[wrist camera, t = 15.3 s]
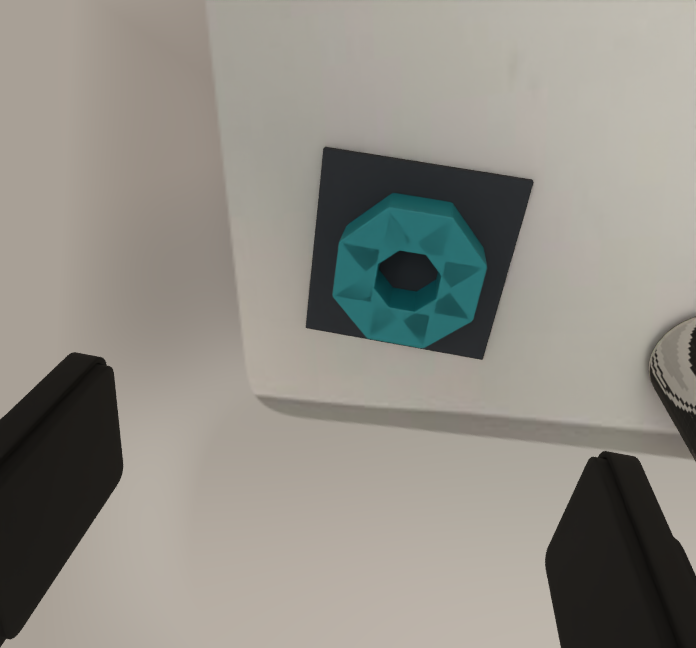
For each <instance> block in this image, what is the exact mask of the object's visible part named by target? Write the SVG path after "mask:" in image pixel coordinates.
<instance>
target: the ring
mask: <svg viewBox="0 0 696 648" xmlns="http://www.w3.org/2000/svg"><path fill="white" fill-rule="evenodd" d="M398 251H406V252H412V253H417V254H423V255H426V256H427V257H428V258H429V260H430V261H431V263H432V264H433V265H434V267H435V268H436V269H437V271H438V273H437V278H436V280H435V281H433V282H431V283H430V284H428V285H426V286H425V287H423V288H421V289H420V290H418V291H417V292H416V291H410V290H404V289H399V288H393V287H392V286H391V284H390V283H389V282H388V280H387V279H386V278H385V277H384V275H383V274H382V273H381V271H380V270H379V266H380V263H381V262H383V261H384V260H386V259H387V258H389V257H390V256H392V255H393V254H395V253H396V252H398ZM486 270H487V263H486V258H485V252H484V248H483V246H482V245H481V243H480V242H479V240H478V239H477V237H476V236H475V235H474V233H473V232H472V230H471V229H470V227H469V226H468V224H467V223H466V222H465V220H464V219H463V217H462V216H461V214H460V213H459V211H458V210H457V209H456V207H455V206H454V204H453V203H451V202H447V201H441V200H435V199H429V198H423V197H416V196H410V195H404V194H398V193H392V194H390V195H389V196H387V197H386V198H384V199H383V200H382V201H380V202H379V203H377V204H376V205H375V206H373V207H372V208H370V209H369V210H367V211H366V212H365V213H363V214H362V215H360V216H359V217H358V218H356V219H355V220H353V221H352V222H351V223H349V224H348V225H347V226H346V228H345V230H344V232H343V234H342V237H341V239H340V241H339V245H338V254H337V262H336V270H335V278H334V286H333V294H332V295H333V298H334V299H335V300H336V301H337V302H338V304H339V305H340V306H341V307H342V308H343V310H344V311H345V312H346V313H347V315H348V316H349V317H350V318H351V319H352V321H353V322H354V323H355V324H356V325H357V327H358V328H359V329H360V330H361V332H362V333H363V334H364V335H365V336H366V338H368V339H373V340H378V341H384V342H389V343H395V344H401V345H406V346H412V347H417V348H425V347H427V346H429V345H431V344H432V343H434V342H436V341H438V340H439V339H441V338H443V337H445V336H447V335H448V334H450V333H452V332H454V331H456V330H457V329H459V328H461V327H463V326H464V325H466V324H468V323H470V322H472V320H473V319H474V315H475V311H476V308H477V304H478V300H479V296H480V293H481V289H482V285H483V282H484V278H485V274H486Z"/></svg>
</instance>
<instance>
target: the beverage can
mask: <svg viewBox="0 0 696 648" xmlns="http://www.w3.org/2000/svg"><path fill="white" fill-rule="evenodd" d="M649 376H650V380H651V383H652V385H653V387H654V389H655V391H656V392H657V394H658V396H659V398H660V399H661V401H662V403H663V405H664V406H665V408H666V410H667V412H668V413H669V415H670V417H671V419H672V421H673V422H674V424H675V426H676V428H677V429H678V431H679V433H680V435H681V436H682V438H683V440H684V442H685V443H686V445H687V447H688V449H689V450H690V452H691V454H692V456H693V458H694V459H695V461H696V317H694V318H692V319H689V320H687V321H684V322H683V323H681V324H679V325H677V326H676V327H674V328H673V329H672V330H670V331H669V332H668V333H667V334H665V335H664V336H663V338H662V339H661V340H660V341H659V342H658V343H657V345H656V347H655V349H654V350H653V352H652V355H651V358H650V361H649Z"/></svg>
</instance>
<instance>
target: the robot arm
mask: <svg viewBox="0 0 696 648" xmlns="http://www.w3.org/2000/svg"><path fill="white" fill-rule="evenodd" d="M122 471H123V458H122V448H121V439H120V428H119V419H118V410H117V400H116V390H115V380H114V372H113V369H112V367H110V366H107V365H106V362H105V360H104V359H103V358H102V357H97V356H92V355H86V354H81V353H76V352H74V353H71V354H69V355H68V356H67V357H66V358H65V359H64V360H63V361H61V362H60V363H59V364H58V365H57V366H56V367H55V368H54V369H53V370H52V371H51V372H50V373H49V374H48V375H47V376H46V377H45V378H44V379H43V380H42V381H41V382H39V384H37V385H36V386H35V387H34V388H33V389H32V390H31V391H30V392H29V393H28V394H27V395H26V396H25V397H24V398H23V399H22V400H21V401H20V402H19V403H18V404H16V405H15V406H14V407H13V408H12V409H11V410H10V411H9V412H8V413H7V414H6V415H5V416H4V417H2V418H1V419H0V647H1V645H2V644H3V643H4V641H5V640H6V639H12V638H14V637H15V636H16V635H18V633H19V632H20V631H21V630H22V628H23V627H24V625H25V624H26V622H27V620H28V619H29V617H30V616H31V614H32V613H33V611H34V610H35V608H36V607H37V605H38V604H39V602H40V601H41V599H42V598H43V596H44V595H45V593H46V592H47V590H48V589H49V587H50V586H51V584H52V583H53V581H54V580H55V578H56V577H57V575H58V574H59V572H60V571H61V569H62V567H63V566H64V565H65V563H66V562H67V560H68V559H69V557H70V555H71V554H72V552H73V551H74V549H75V548H76V546H77V545H78V543H79V542H80V540H81V539H82V537H83V536H84V534H85V533H86V531H87V530H88V528H89V527H90V525H91V524H92V522H93V521H94V519H95V518H96V516H97V515H98V513H99V512H100V510H101V509H102V507H103V506H104V504H105V503H106V501H107V500H108V498H109V497H110V495H111V493H112V492H113V491H114V489H115V487H116V486H117V484H118V482H119V481H120V478H121V476H122ZM545 566H546V573H547V578H548V583H549V588H550V593H551V599H552V603H553V609H554V614H555V619H556V624H557V630H558V634H559V640H560V645H561V648H696V576H695V573H694V571H693V569H692V566H691V564H690V562H689V560H688V558H687V555H686V553H685V551H684V549H683V547H682V546H681V544H680V542H679V541H678V540H677V539H675V538H674V537H673V535H672V533H671V530H670V528H669V526H668V524H667V522H666V519H665V517H664V515H663V512H662V510H661V508H660V506H659V504H658V502H657V499H656V497H655V495H654V492H653V490H652V488H651V486H650V483H649V481H648V479H647V476H646V474H645V472H644V470H643V468H642V465H641V463H640V461H639V460H638V459H637V458H636V457H634V456H629V455H624V454H618V453H613V452H607V451H603V452H602V453H601V454H600V455H599V456H598V458H597V457H591V458H590V459H589V460H588V462H587V464H586V466H585V468H584V470H583V472H582V475H581V477H580V479H579V481H578V484H577V486H576V488H575V490H574V492H573V494H572V496H571V499H570V501H569V503H568V505H567V507H566V509H565V512H564V514H563V516H562V518H561V520H560V522H559V524H558V527H557V529H556V531H555V533H554V535H553V538H552V540H551V542H550V544H549V546H548V548H547V552H546V558H545Z"/></svg>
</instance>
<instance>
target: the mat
mask: <svg viewBox="0 0 696 648" xmlns="http://www.w3.org/2000/svg"><path fill="white" fill-rule="evenodd" d="M533 183H534V182H533V180H531V179H525V178H518V177H512V176H506V175H500V174H493V173H487V172H481V171H474V170H468V169H462V168H456V167H449V166H443V165H437V164H430V163H424V162H418V161H411V160H405V159H399V158H393V157H386V156H380V155H374V154H367V153H361V152H355V151H349V150H342V149H336V148H330V147H325V148H324V149H323V159H322V169H321V179H320V189H319V199H318V209H317V219H316V229H315V240H314V250H313V260H312V270H311V280H310V290H309V300H308V310H307V320H306V328H309V329H315V330H320V331H326V332H332V333H337V334H343V335H348V336H354V337H359V338H365V339H368V338H366V336H365V335H364V334H363V333H362V332H361V330H360V329H359V328H358V327H357V325H356V324H355V323H354V322H353V321H352V319H351V318H350V317H349V316H348V315H347V313H346V312H345V311H344V310H343V308H342V307H341V306H340V305H339V304H338V302H337V301H336V300H335V299H334V298H333V295H332V294H333V286H334V278H335V270H336V262H337V254H338V245H339V241H340V239H341V237H342V234H343V232H344V230H345V228H346V226H347V225H348V224H349V223H351V222H352V221H353V220H355V219H356V218H358V217H359V216H360V215H362V214H363V213H365V212H366V211H367V210H369V209H370V208H372V207H373V206H375V205H376V204H377V203H379V202H380V201H382V200H383V199H384V198H386V197H387V196H389V195H390V194H392V193H398V194H404V195H410V196H416V197H423V198H429V199H435V200H441V201H447V202H451V203H453V204H454V206H455V207H456V209H457V210H458V211H459V213H460V214H461V216H462V217H463V219H464V220H465V222H466V223H467V224H468V226H469V227H470V229H471V230H472V232H473V233H474V235H475V236H476V237H477V239H478V240H479V242H480V243H481V245H482V246H483V248H484V252H485V258H486V263H487V270H486V274H485V278H484V282H483V285H482V289H481V293H480V296H479V300H478V304H477V308H476V311H475V315H474V319H473V320H472V322H470V323H468V324H466V325H464V326H463V327H461V328H459V329H457V330H456V331H454V332H452V333H450V334H448V335H447V336H445V337H443V338H441V339H439V340H438V341H436V342H434V343H432V344H431V345H429V346H427V347H425V348H420V349H426V350H431V351H437V352H442V353H448V354H453V355H459V356H465V357H470V358H476V359H481V360H482V359H483V356H484V353H485V349H486V346H487V342H488V339H489V335H490V332H491V328H492V325H493V322H494V318H495V315H496V311H497V308H498V304H499V301H500V297H501V294H502V290H503V287H504V283H505V280H506V276H507V273H508V269H509V266H510V262H511V259H512V256H513V252H514V249H515V245H516V242H517V238H518V235H519V231H520V228H521V224H522V221H523V217H524V214H525V210H526V207H527V203H528V200H529V196H530V193H531V190H532V186H533ZM379 270H380V271H381V273H382V274H383V275H384V277H385V278H386V279H387V280H388V282H389V283H390V284H391V286H392V287H393V288H399V289H404V290H410V291H416V292H417V291H418V290H420V289H421V288H423V287H425V286H426V285H428V284H430V283H431V282H433V281H435V280H436V278H437V273H438V271H437V269H436V268H435V267H434V265H433V264H432V263H431V261H430V260H429V258H428V257H427V256H426V255H423V254H417V253H412V252H406V251H398V252H396V253H395V254H393V255H392V256H390V257H389V258H387V259H386V260H384V261H383V262H381V263H380V266H379ZM370 340H373V339H370ZM376 341H378V340H376ZM381 342H384V341H381ZM387 343H389V342H387ZM392 344H395V343H392ZM398 345H401V344H398ZM404 346H406V345H404ZM409 347H412V346H409ZM415 348H417V347H415Z"/></svg>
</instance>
